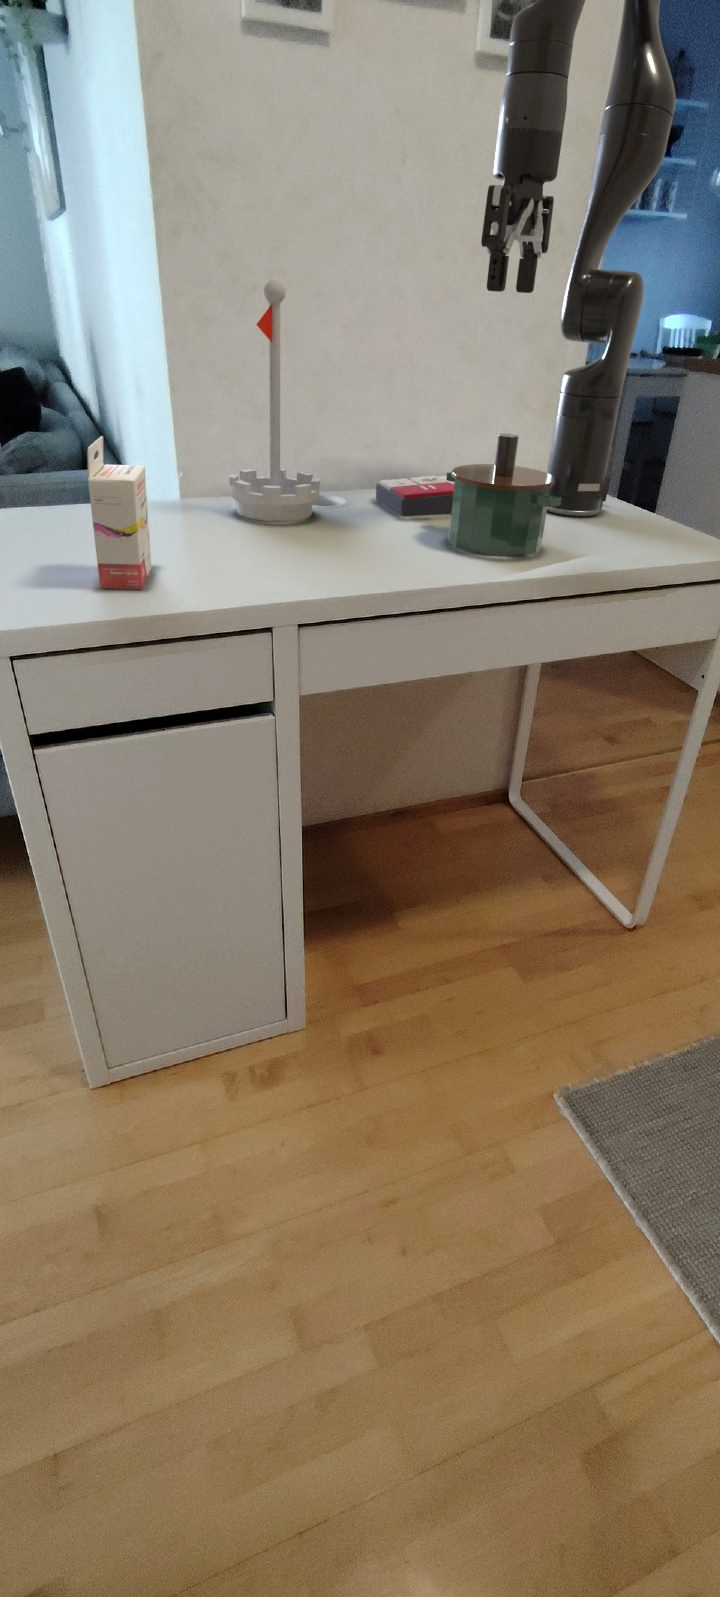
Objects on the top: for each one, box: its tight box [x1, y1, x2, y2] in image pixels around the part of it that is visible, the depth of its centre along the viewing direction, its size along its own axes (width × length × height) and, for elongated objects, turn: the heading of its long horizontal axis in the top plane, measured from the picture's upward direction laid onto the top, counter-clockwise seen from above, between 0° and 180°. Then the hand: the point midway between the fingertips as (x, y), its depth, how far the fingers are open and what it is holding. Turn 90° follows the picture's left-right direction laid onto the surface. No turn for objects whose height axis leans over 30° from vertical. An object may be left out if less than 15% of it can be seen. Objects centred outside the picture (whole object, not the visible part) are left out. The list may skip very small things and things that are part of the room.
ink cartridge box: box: [87, 435, 153, 590], centre depth 93 cm, size 9×5×15 cm, turn 5°
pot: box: [446, 471, 561, 558], centre depth 114 cm, size 13×18×9 cm
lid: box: [451, 433, 555, 491], centre depth 110 cm, size 14×14×6 cm
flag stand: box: [229, 278, 321, 522], centre depth 117 cm, size 13×13×30 cm
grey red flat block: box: [375, 475, 454, 517], centre depth 132 cm, size 11×4×15 cm
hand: (510, 292), depth 106 cm, fingers open, 8 cm apart
